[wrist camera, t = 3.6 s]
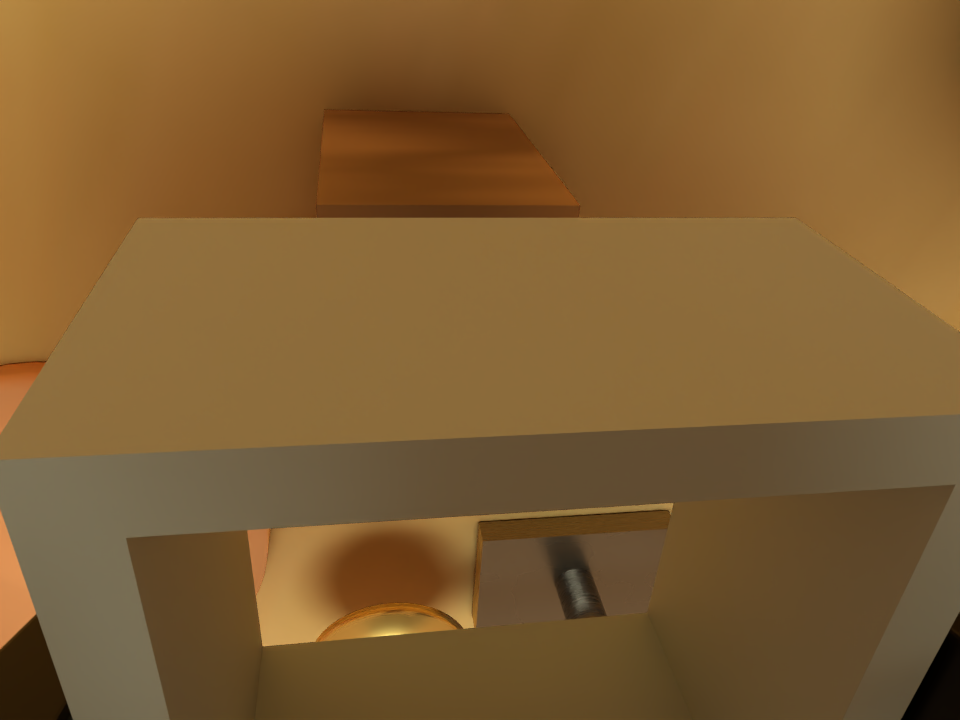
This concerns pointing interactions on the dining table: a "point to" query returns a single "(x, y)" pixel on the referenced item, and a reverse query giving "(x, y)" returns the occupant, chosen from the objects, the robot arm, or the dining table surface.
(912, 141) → the dining table surface
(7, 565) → the dish
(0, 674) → the robot arm
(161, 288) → the collar
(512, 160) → the block
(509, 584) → the balance
